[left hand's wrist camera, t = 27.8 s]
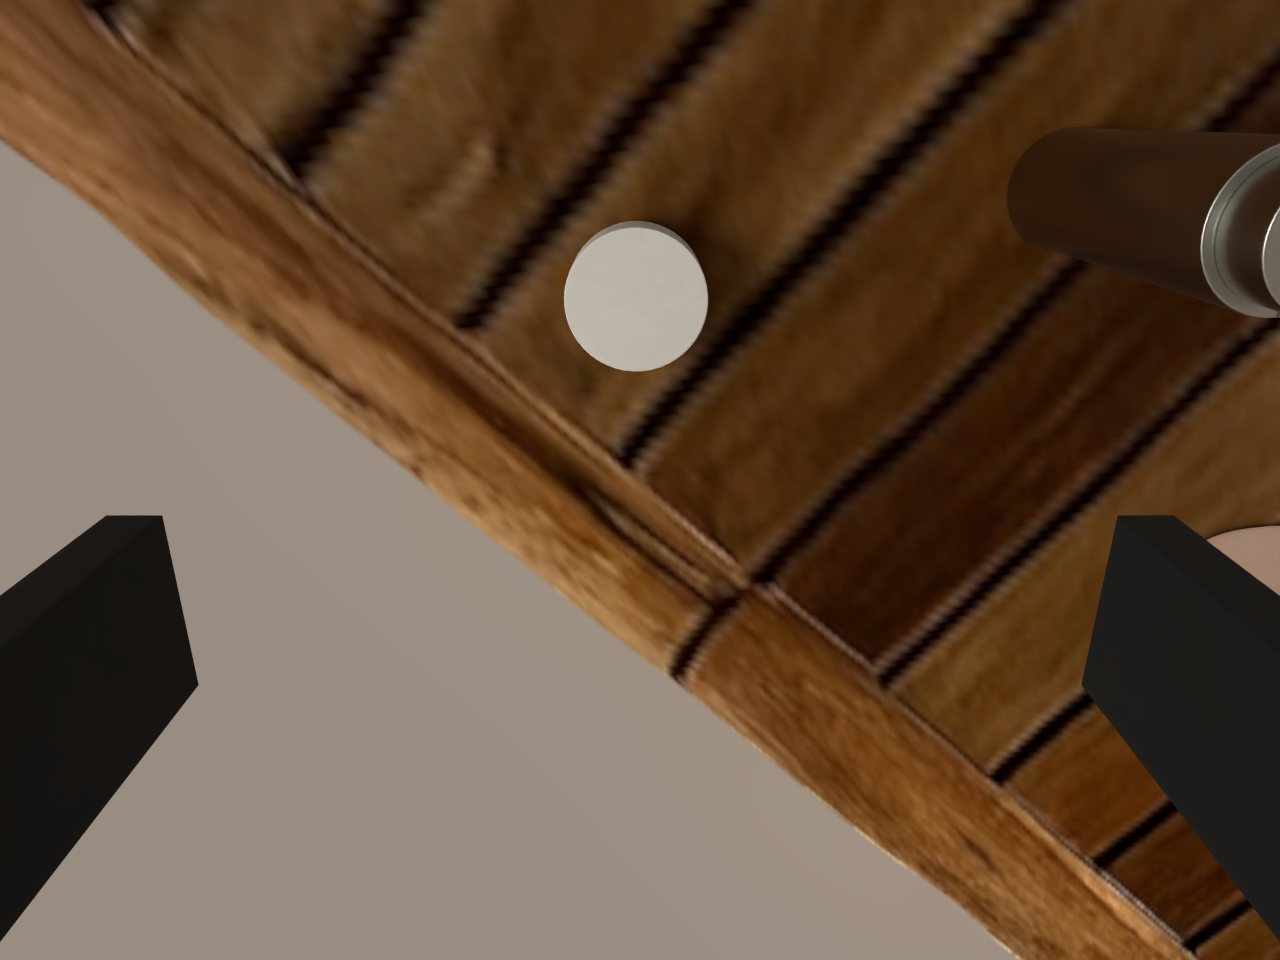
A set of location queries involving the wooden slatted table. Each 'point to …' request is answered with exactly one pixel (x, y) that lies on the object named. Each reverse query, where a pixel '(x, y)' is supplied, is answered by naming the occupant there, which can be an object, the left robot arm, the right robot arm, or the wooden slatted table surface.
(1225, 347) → the wooden slatted table surface
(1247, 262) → the metal cylinder
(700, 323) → the lid
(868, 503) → the wooden slatted table surface
